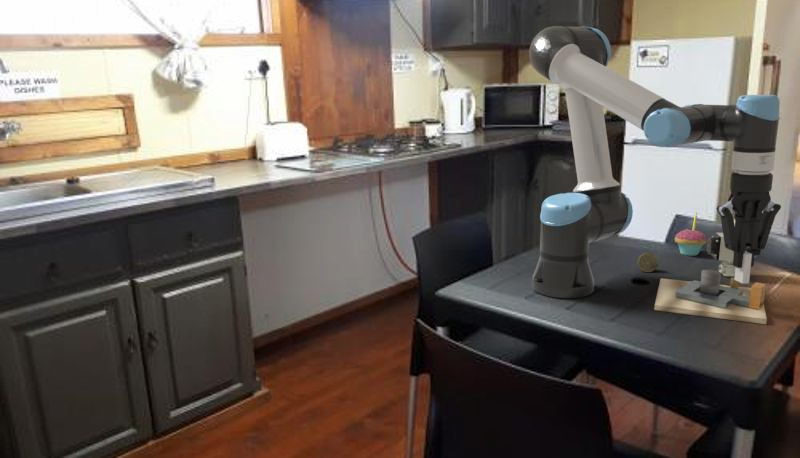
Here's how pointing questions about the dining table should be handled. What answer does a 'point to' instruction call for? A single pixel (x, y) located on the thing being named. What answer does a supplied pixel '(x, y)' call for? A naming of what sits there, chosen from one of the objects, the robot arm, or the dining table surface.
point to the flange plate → (724, 295)
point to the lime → (647, 262)
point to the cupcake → (690, 240)
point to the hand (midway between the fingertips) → (741, 281)
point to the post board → (709, 287)
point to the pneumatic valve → (722, 254)
